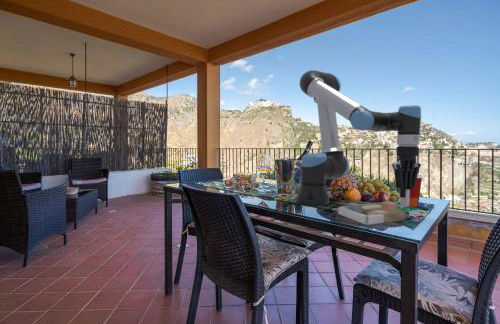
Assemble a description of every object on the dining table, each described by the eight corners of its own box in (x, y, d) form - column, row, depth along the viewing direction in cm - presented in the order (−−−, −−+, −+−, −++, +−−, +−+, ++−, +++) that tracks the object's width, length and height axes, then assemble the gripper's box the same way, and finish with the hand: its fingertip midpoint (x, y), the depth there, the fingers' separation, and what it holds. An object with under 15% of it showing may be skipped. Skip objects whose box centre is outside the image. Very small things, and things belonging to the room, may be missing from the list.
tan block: (380, 209, 105) (381, 202, 105) (388, 208, 106) (388, 201, 106) (389, 212, 101) (389, 204, 101) (397, 211, 103) (397, 203, 102)
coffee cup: (407, 202, 131) (409, 172, 129) (424, 206, 123) (426, 174, 122) (396, 204, 127) (398, 173, 125) (413, 208, 119) (415, 175, 118)
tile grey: (353, 212, 109) (347, 213, 108) (354, 202, 109) (348, 203, 108) (361, 214, 106) (355, 215, 105) (361, 204, 105) (355, 205, 104)
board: (353, 212, 112) (354, 205, 112) (374, 210, 116) (374, 203, 116) (383, 222, 98) (383, 214, 98) (405, 219, 102) (405, 212, 102)
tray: (338, 213, 109) (338, 206, 109) (353, 212, 112) (354, 205, 112) (366, 225, 95) (366, 216, 95) (383, 222, 98) (383, 214, 98)
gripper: (404, 146, 99) (400, 209, 101) (428, 146, 104) (425, 206, 105) (387, 145, 106) (384, 204, 108) (410, 145, 111) (407, 202, 112)
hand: (404, 205), depth 107 cm, fingers closed
